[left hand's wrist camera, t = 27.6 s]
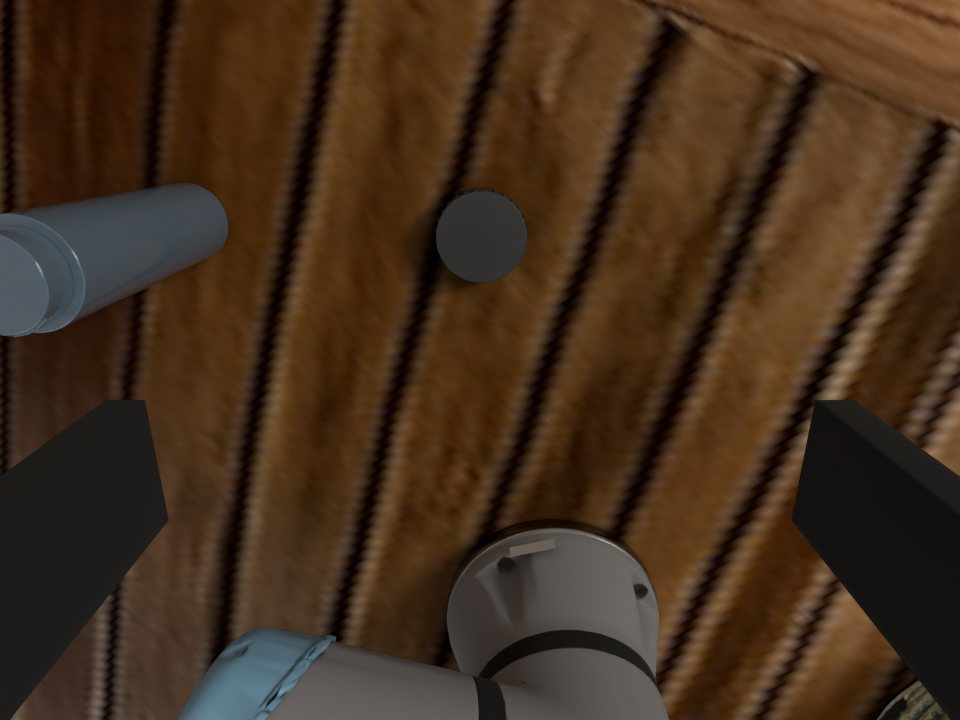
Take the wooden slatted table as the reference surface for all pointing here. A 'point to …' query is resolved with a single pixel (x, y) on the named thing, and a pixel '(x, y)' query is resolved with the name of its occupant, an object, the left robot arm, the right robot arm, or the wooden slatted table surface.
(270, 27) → the wooden slatted table surface
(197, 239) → the jar
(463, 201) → the lid
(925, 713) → the fossil
